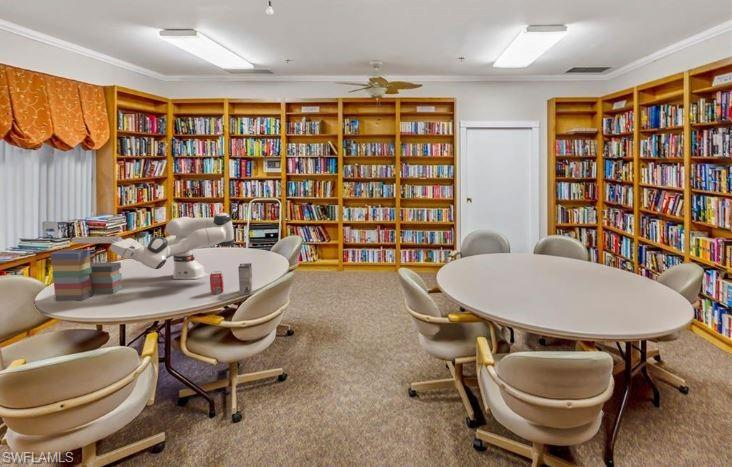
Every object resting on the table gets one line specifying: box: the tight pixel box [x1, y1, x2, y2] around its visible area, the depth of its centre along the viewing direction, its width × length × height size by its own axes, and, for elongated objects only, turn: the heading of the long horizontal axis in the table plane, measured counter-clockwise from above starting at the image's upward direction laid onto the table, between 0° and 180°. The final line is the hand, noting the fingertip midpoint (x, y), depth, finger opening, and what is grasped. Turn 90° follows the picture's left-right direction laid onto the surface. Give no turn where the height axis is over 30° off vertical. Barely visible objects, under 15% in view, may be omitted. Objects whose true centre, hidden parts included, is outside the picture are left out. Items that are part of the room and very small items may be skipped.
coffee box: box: [237, 262, 253, 295], centre depth 233 cm, size 9×6×16 cm
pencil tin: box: [71, 236, 123, 244], centre depth 223 cm, size 24×4×3 cm, turn 94°
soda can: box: [209, 270, 225, 295], centre depth 232 cm, size 7×7×12 cm
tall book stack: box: [49, 249, 94, 302], centre depth 220 cm, size 14×10×26 cm
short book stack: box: [89, 262, 123, 295], centre depth 233 cm, size 16×10×16 cm, turn 94°
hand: (111, 238), depth 223 cm, fingers closed on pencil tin, 3 cm apart
